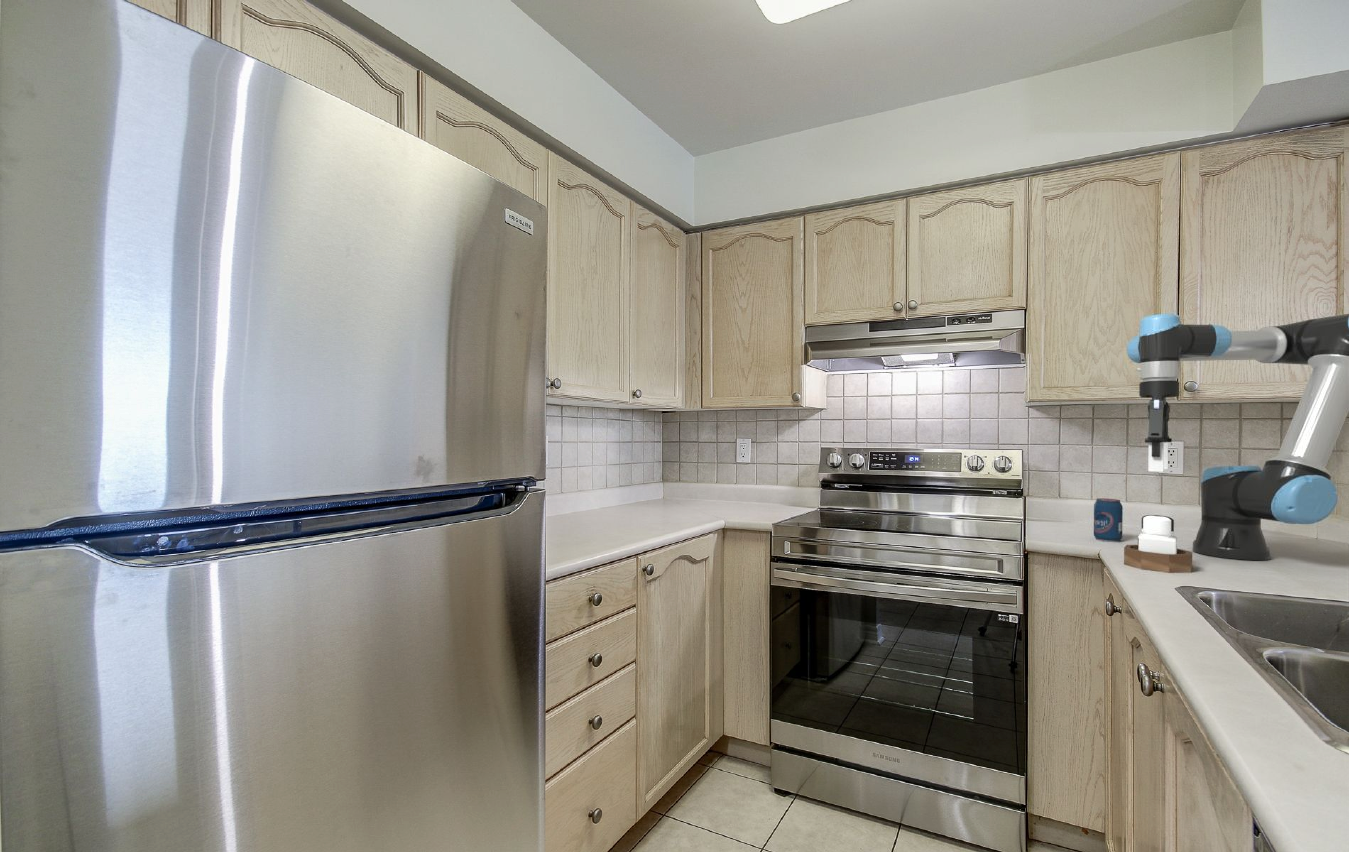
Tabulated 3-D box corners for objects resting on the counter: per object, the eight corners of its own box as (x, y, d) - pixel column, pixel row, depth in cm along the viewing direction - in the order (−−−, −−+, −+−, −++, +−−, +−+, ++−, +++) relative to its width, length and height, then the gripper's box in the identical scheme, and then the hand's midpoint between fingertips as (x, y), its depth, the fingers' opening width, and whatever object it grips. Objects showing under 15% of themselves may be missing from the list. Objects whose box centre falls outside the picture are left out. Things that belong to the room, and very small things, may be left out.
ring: (1161, 561, 154) (1161, 544, 154) (1206, 572, 142) (1206, 555, 142) (1112, 561, 154) (1112, 544, 154) (1153, 572, 141) (1153, 554, 141)
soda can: (1088, 539, 185) (1089, 498, 185) (1101, 537, 188) (1101, 497, 189) (1114, 543, 179) (1114, 501, 179) (1127, 541, 182) (1127, 500, 182)
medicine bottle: (1139, 562, 153) (1139, 512, 153) (1176, 566, 149) (1177, 515, 149) (1137, 566, 148) (1137, 515, 148) (1176, 571, 143) (1176, 518, 143)
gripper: (1144, 384, 160) (1144, 467, 160) (1133, 377, 142) (1132, 471, 141) (1182, 383, 155) (1182, 468, 155) (1175, 376, 137) (1175, 473, 136)
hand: (1158, 470), depth 148 cm, fingers open, 13 cm apart
